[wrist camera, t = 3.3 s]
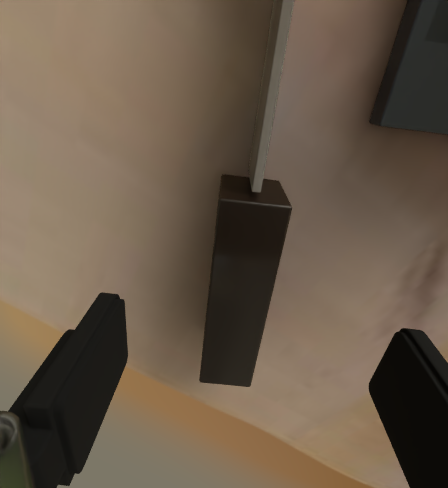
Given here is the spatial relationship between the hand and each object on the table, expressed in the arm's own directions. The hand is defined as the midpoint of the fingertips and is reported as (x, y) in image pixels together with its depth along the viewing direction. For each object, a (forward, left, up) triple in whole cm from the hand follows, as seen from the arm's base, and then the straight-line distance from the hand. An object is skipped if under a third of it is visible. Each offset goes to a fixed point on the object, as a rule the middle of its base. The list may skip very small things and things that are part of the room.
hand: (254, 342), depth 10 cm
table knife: (-1, +5, -4) cm, 7 cm away
